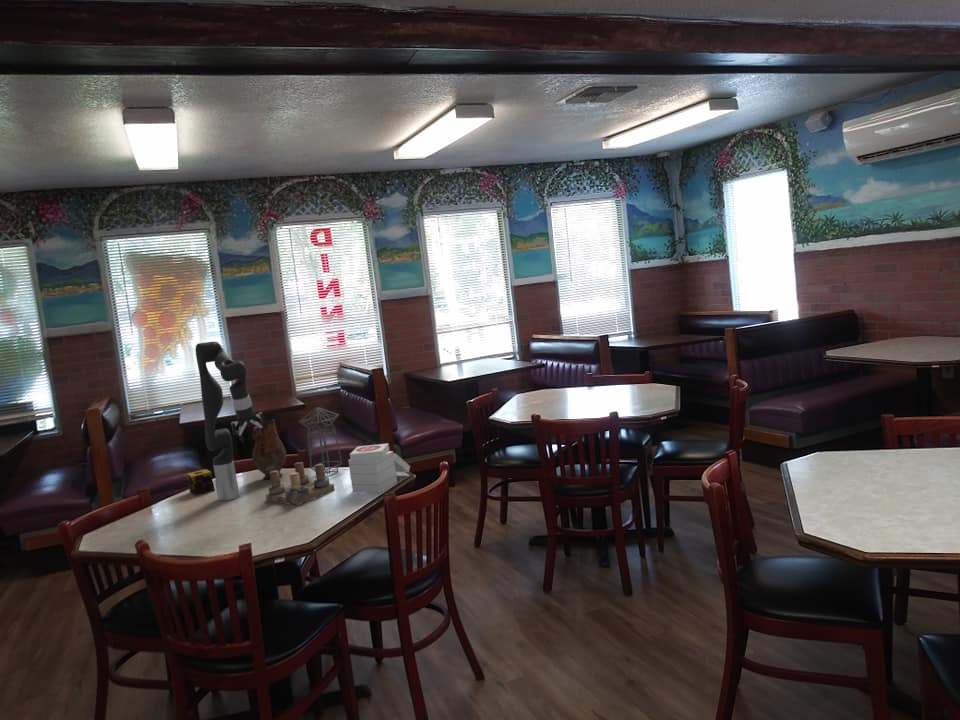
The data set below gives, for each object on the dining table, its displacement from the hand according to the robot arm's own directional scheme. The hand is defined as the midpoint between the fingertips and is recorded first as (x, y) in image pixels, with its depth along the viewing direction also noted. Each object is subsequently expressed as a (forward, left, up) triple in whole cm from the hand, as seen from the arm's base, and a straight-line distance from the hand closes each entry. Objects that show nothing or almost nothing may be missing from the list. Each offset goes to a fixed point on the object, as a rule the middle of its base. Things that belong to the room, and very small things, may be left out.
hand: (252, 438), depth 326 cm
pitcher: (-36, +33, -31) cm, 58 cm away
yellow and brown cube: (-56, +6, -31) cm, 65 cm away
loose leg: (+14, +9, -28) cm, 32 cm away
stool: (+7, +16, -31) cm, 36 cm away
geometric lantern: (-9, +47, -31) cm, 57 cm away
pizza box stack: (+33, +43, -31) cm, 62 cm away
